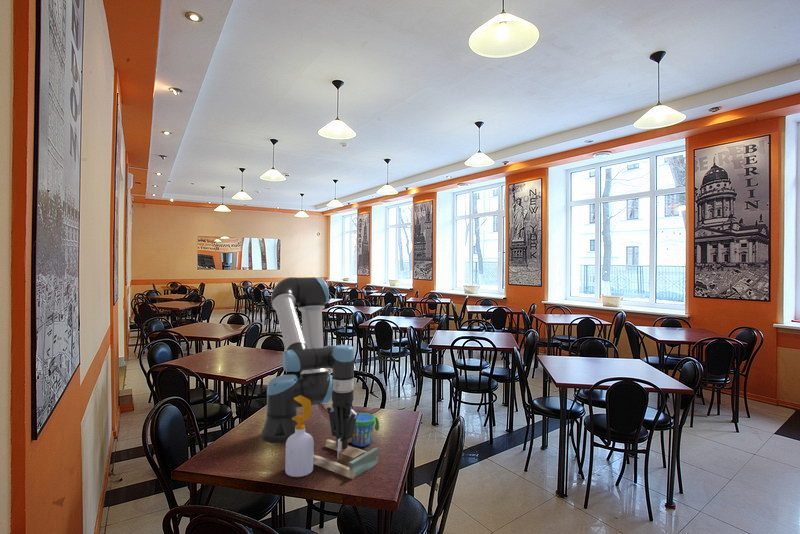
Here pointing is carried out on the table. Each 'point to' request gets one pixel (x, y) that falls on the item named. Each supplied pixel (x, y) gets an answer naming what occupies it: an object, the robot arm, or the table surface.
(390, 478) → the table surface
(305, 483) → the table surface
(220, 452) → the table surface
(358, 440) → the snack cup
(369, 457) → the lane
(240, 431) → the table surface
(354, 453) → the block
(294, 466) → the soap bottle
